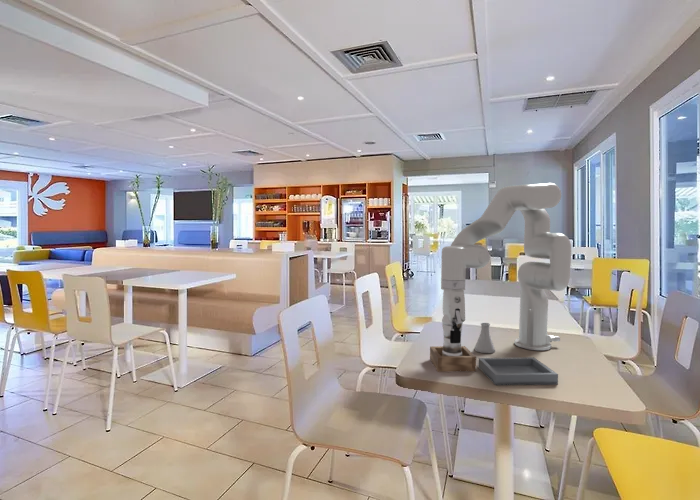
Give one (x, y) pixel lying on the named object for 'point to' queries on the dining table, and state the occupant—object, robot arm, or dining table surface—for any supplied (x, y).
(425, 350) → the dining table surface
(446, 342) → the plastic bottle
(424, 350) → the dining table surface
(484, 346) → the flask
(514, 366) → the parts tray
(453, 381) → the dining table surface
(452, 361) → the holder
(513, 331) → the dining table surface
